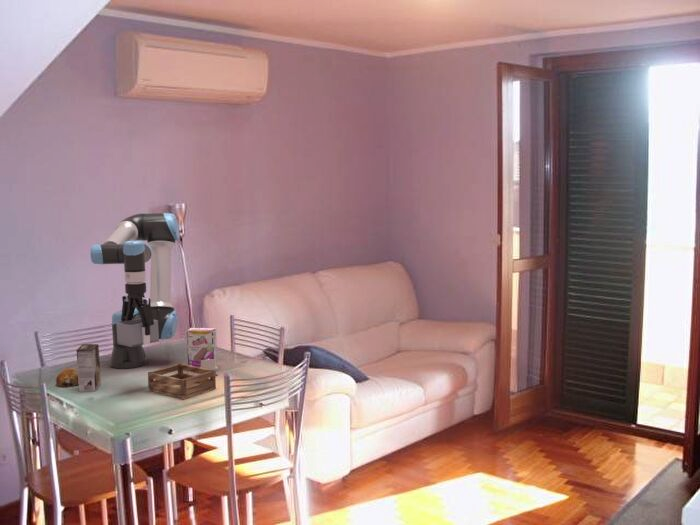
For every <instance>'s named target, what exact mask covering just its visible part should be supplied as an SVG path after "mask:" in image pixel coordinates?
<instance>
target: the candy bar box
mask: <svg viewBox="0 0 700 525" xmlns="http://www.w3.org/2000/svg"><path fill="white" fill-rule="evenodd" d="M186 339H187V342H186V343H187V365H190V366H195V367H200V365H201V360H207V359H215V366H217V367H218V355H217V354H218V350H217V346H218V345H217V328H212V327H208V328H207V327H190V328H188V329H187V330H186Z"/></svg>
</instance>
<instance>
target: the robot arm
mask: <svg viewBox="0 0 700 525" xmlns="http://www.w3.org/2000/svg"><path fill="white" fill-rule="evenodd" d="M179 239H180V227H179V222H178V219H177V216H176V215H175V214H174V213H169V212H168V213H166V212H157V213H156V212H155V213H153V212H152V213H136V214H133V215H130V216H128V217H126V218H124V219H122V220H121V221H120V222H119V223H117V224H116V227H115V228H114V232H113V233H112V234H111V235H110V236H109V237H108V238H107V239H106V240H105V241H104V242H103V243H102V244H100V243H99V244H93V245H92V246H91V248H90V260H91V263H92V264H94V265H101V266H102V265H120V264H121V265H123V268H124V269H123V270H124V282H125V284H124V287H125V288H124V290H125V291H124V292H125V294H127V295H123V296H122V297H121V298H122V306H121V310H118V311H115V312H114V313H113V314H112V316H111V327H112V328H111V329H112V330H111V331H112V346H113V347H112V351H111V354H110V359H109V367H111V368H113V369H134V368H138V367H139V368H140V367H142V366H145V365H146V364H148V357H147V355H146V353H145V350H144V347H143V345H140V346H136V347H129V346H124V345H119V344H117V325H116V323H119V322H124V321H129V320H134V319H139V318H141V320H142V323H143V325H144V326H142V335H143V344H145V345H148V343H149V344H151V343H150V326H151V325H154V321H153V320H158V332H159V340H162V341H163V340H172V339H173V338H174V336H175V335H176V333H177V329H178V324H179V314H178V312H177V311H176V310H175V307H174V306H173V305H172V304H171V295H172V294H171V292H172V289H171V288H172V286H171V285H172V248H174V247H175V245H176V241H179ZM144 241H146V242H147V243H145V242H144ZM149 261H150V270H149V271H150V273H149V274H150V275H149V281H150V282H149V298H146V297H145V294H146V292H147V283H146V281H147V275H146V273H147V272H146V263H147V262H149Z"/></svg>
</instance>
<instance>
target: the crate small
mask: <svg viewBox="0 0 700 525" xmlns="http://www.w3.org/2000/svg"><path fill="white" fill-rule="evenodd" d="M153 321H154V325H151V326H150V343H148V344H153V343H156V342H160V339H159V332H158V320H153ZM116 325H117V344H119V345H124V346H129V347H136V346H140V345H142V346H145V345H146V344H143V335H142V326H144V325H143V323H142V320H141V318H139V319H134V320H129V321H124V322H119V323H116ZM148 344H147V345H148Z"/></svg>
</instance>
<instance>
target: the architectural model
mask: <svg viewBox="0 0 700 525" xmlns="http://www.w3.org/2000/svg"><path fill="white" fill-rule="evenodd" d="M200 368H205V369H209V370H215V371H216V370H217V369H218V370H219V367H218V365H217V366H215V359H207V360H201V365H200Z"/></svg>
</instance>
